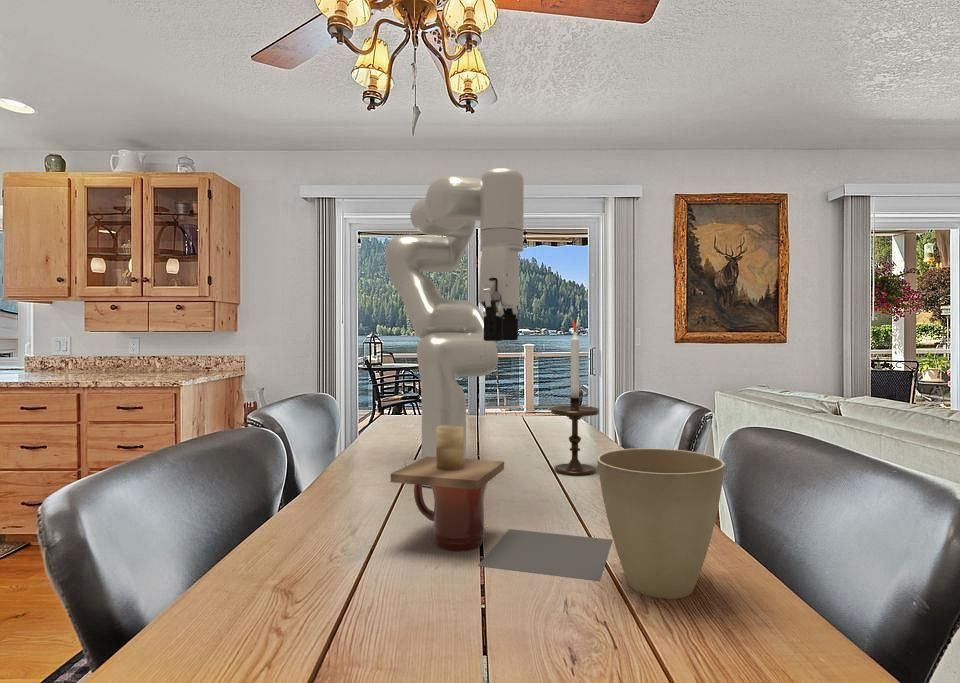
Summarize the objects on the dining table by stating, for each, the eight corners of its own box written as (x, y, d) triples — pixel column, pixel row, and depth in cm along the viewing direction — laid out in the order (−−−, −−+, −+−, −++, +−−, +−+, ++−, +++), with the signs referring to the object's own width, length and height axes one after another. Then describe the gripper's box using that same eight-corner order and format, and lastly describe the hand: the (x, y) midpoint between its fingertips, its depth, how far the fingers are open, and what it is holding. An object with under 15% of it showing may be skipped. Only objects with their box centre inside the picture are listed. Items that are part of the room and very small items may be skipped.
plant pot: (629, 557, 84) (629, 443, 84) (740, 585, 75) (741, 457, 75) (574, 592, 73) (574, 460, 72) (698, 631, 63) (698, 479, 63)
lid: (390, 482, 85) (390, 431, 85) (426, 463, 98) (426, 419, 98) (477, 489, 81) (477, 436, 81) (504, 469, 94) (504, 422, 94)
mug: (498, 541, 91) (498, 473, 91) (470, 561, 83) (470, 486, 83) (431, 530, 96) (431, 465, 96) (399, 546, 88) (399, 477, 88)
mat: (477, 569, 80) (477, 565, 80) (509, 532, 95) (509, 529, 95) (599, 584, 75) (599, 580, 75) (612, 543, 90) (612, 539, 90)
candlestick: (542, 468, 140) (542, 318, 140) (581, 464, 145) (581, 319, 145) (567, 478, 131) (568, 317, 130) (608, 474, 135) (609, 318, 135)
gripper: (495, 249, 115) (495, 339, 115) (464, 235, 98) (464, 341, 98) (534, 248, 112) (533, 340, 112) (509, 233, 96) (508, 341, 96)
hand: (501, 340), depth 105 cm, fingers open, 9 cm apart
